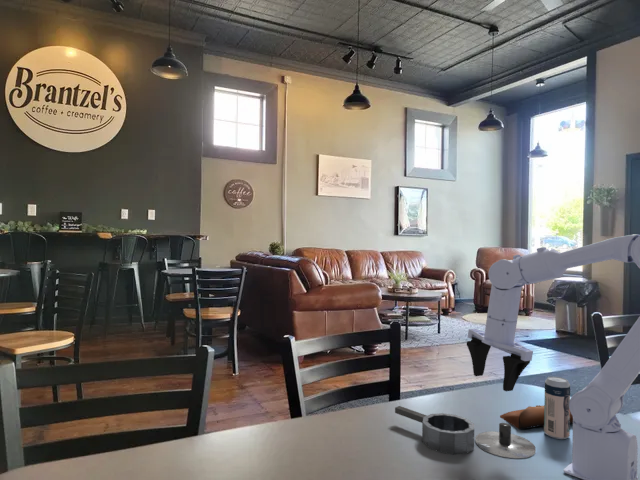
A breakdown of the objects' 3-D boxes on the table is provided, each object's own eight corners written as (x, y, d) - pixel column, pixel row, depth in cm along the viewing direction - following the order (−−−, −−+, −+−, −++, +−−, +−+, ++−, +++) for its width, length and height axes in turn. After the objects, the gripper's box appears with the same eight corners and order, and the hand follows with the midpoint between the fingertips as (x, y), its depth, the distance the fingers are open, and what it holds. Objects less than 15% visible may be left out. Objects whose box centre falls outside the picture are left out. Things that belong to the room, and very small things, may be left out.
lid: (545, 448, 91) (545, 426, 91) (519, 466, 83) (520, 442, 83) (492, 430, 99) (492, 410, 99) (464, 445, 92) (465, 423, 92)
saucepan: (483, 444, 91) (483, 424, 91) (456, 459, 85) (456, 437, 85) (410, 417, 105) (411, 400, 105) (382, 428, 98) (382, 410, 98)
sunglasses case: (561, 410, 111) (572, 391, 107) (580, 435, 105) (593, 416, 101) (496, 416, 106) (506, 396, 103) (513, 442, 100) (523, 422, 97)
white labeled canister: (572, 441, 93) (573, 383, 93) (547, 439, 94) (548, 381, 94) (565, 432, 98) (565, 376, 98) (541, 430, 99) (542, 375, 99)
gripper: (461, 309, 96) (452, 370, 98) (519, 329, 84) (508, 400, 85) (484, 308, 100) (475, 368, 101) (543, 328, 87) (533, 395, 88)
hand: (492, 382), depth 93 cm, fingers open, 7 cm apart
